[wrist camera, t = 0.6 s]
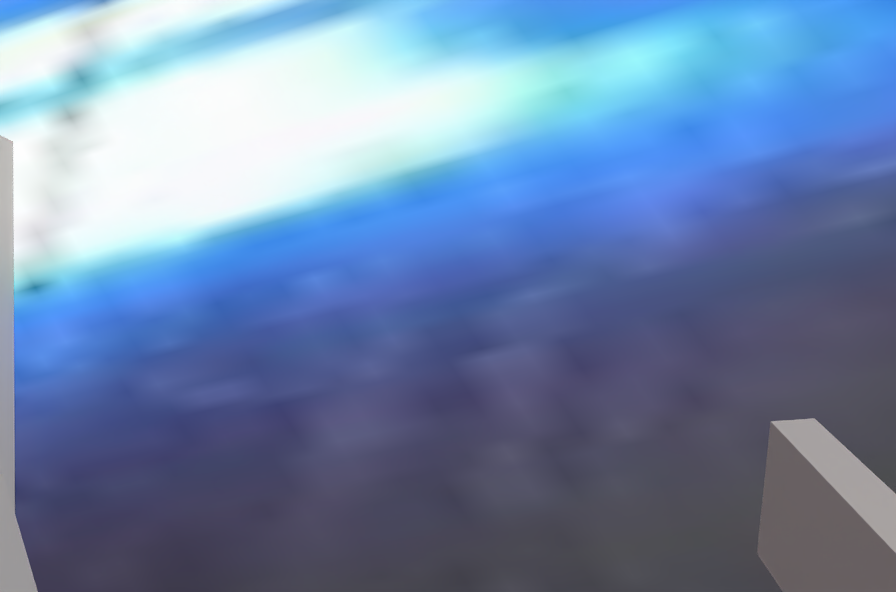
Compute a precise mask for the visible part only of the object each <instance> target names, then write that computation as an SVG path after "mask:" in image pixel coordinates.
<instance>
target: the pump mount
mask: <svg viewBox="0 0 896 592" xmlns="http://www.w3.org/2000/svg"><path fill="white" fill-rule="evenodd" d="M0 474H3V475H4V479H5V482H6V485H7V489H8V492H9V496H10V499H11V503H12V506H13V509H14V513H15V436H14V232H13V141H11V140H9V139H6V138H4V137H2V136H0Z"/></svg>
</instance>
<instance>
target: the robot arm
mask: <svg viewBox="0 0 896 592" xmlns="http://www.w3.org/2000/svg"><path fill="white" fill-rule="evenodd" d="M757 554H758V556H759V557H760V559H761V560H762V562H763V563H764V564H765V566H766V567H767V569H768V570H769V572H770V573H771V575H772V576H773V578H774V579H775V581H776V582H777V584H778V585H779V587H780V588H781V590H782V591H783V592H896V494H895V493H894V492H893V491H892V490H891V489H890V488H889V487H888V486H886V485H885V484H884V483H883V482H882V481H881V480H880V479H879V478H878V477H877V476H876V475H875V474H874V473H872V472H871V471H870V470H869V469H868V468H867V467H866V466H865V465H864V464H863V463H862V462H861V461H860V460H859V459H857V458H856V457H855V456H854V455H853V454H852V453H851V452H850V451H849V450H848V449H847V448H846V447H845V446H843V445H842V444H841V443H840V442H839V441H838V440H837V439H836V438H835V437H834V436H833V435H832V434H831V433H830V432H828V431H827V430H826V429H825V428H824V427H823V426H822V425H821V424H820V423H819V422H818V421H817V420H816V419H800V420H785V421H771V424H770V434H769V444H768V453H767V463H766V472H765V482H764V492H763V501H762V511H761V521H760V530H759V540H758V550H757ZM0 592H38V591H37V588H36V585H35V581H34V578H33V574H32V571H31V568H30V564H29V561H28V557H27V554H26V550H25V547H24V544H23V540H22V537H21V533H20V530H19V526H18V523H17V520H16V516H15V513H14V509H13V506H12V503H11V499H10V496H9V492H8V489H7V485H6V482H5V479H4V475H3V474H0Z"/></svg>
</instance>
